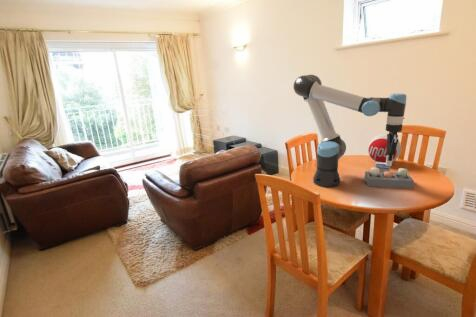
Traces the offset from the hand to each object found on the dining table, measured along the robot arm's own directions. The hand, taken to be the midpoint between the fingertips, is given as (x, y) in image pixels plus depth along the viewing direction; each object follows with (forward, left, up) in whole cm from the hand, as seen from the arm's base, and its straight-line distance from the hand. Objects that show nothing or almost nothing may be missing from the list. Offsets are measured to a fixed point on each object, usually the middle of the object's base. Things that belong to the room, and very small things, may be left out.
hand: (388, 165), depth 147 cm
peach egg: (0, 0, -10) cm, 10 cm away
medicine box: (-1, +10, -11) cm, 15 cm away
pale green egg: (+7, 0, -8) cm, 11 cm away
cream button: (-7, 0, -8) cm, 10 cm away
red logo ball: (+5, +37, -11) cm, 39 cm away
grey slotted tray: (0, 0, -11) cm, 11 cm away
